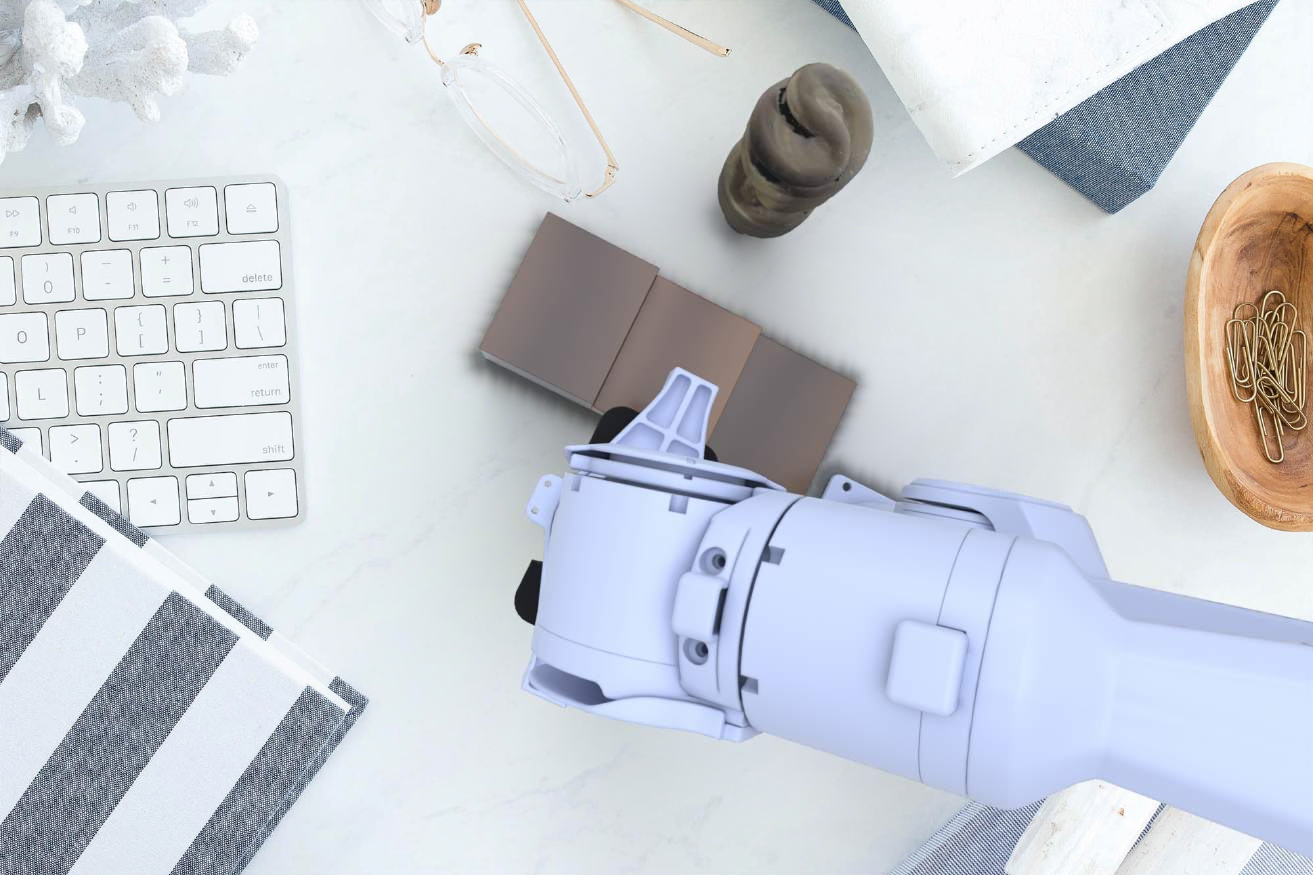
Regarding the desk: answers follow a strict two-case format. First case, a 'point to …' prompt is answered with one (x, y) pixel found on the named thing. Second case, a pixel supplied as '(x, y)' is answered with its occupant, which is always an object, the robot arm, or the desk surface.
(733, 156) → the brown carved figurine
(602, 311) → the steps
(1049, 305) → the desk surface
